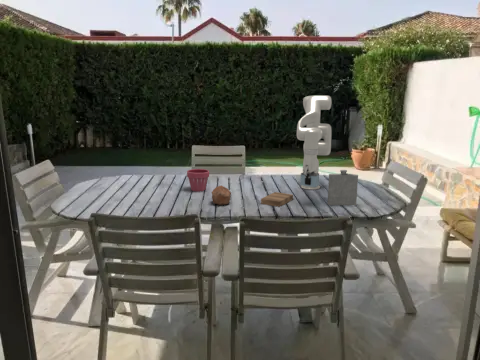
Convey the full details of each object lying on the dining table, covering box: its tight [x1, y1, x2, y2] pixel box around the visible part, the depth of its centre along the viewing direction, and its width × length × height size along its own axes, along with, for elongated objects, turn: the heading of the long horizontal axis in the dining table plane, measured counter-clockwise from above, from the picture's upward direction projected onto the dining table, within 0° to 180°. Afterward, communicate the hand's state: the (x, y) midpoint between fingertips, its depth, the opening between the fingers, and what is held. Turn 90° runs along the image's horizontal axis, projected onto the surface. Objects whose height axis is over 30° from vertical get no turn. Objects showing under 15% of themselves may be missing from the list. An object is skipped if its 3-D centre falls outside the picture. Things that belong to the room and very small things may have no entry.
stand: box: [260, 191, 294, 208], centre depth 237 cm, size 18×12×3 cm, turn 149°
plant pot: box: [186, 168, 210, 192], centre depth 262 cm, size 14×14×13 cm
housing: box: [300, 171, 320, 187], centre depth 228 cm, size 5×9×7 cm, turn 59°
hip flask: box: [327, 169, 359, 206], centre depth 229 cm, size 16×4×20 cm, turn 83°
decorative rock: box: [211, 185, 232, 206], centre depth 232 cm, size 13×11×10 cm
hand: (309, 183), depth 229 cm, fingers closed on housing, 5 cm apart
